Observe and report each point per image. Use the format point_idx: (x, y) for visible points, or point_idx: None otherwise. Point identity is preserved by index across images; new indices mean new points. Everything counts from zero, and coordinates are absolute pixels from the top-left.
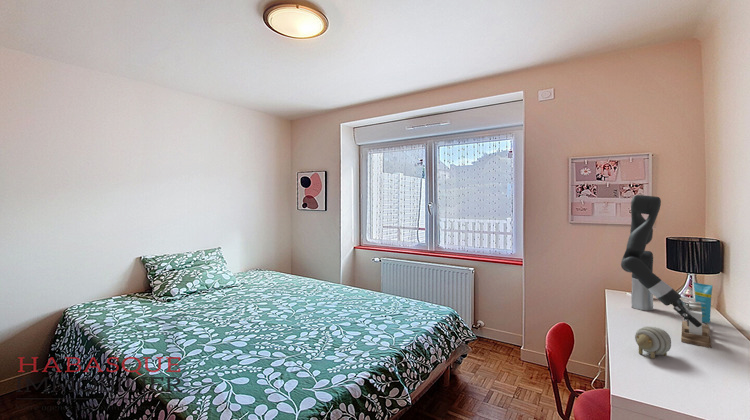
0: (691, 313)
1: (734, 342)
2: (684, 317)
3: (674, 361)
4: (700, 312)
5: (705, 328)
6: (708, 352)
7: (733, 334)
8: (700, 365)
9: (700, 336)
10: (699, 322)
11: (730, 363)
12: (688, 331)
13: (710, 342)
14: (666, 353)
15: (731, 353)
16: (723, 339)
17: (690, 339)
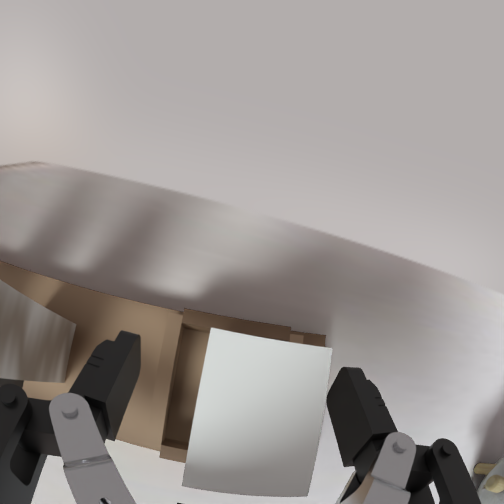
0: (304, 463)
1: (149, 212)
2: (426, 490)
3: (499, 434)
4: (241, 352)
5: (20, 283)
6: (388, 358)
7: (39, 188)
8: (495, 378)
9: None
10: (369, 383)
11: (444, 301)
12: (165, 421)
13: (292, 333)
14: (483, 463)
15: (339, 271)
16: (121, 244)
17: None
